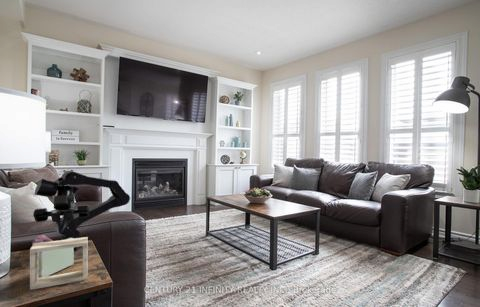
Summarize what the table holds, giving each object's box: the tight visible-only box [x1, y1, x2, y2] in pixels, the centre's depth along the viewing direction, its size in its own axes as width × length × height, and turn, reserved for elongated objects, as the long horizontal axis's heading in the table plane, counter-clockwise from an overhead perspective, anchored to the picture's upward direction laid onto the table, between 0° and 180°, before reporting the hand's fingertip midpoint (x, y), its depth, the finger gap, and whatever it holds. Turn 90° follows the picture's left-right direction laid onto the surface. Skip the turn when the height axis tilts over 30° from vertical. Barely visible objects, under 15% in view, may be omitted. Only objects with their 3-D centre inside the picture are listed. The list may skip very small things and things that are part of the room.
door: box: [38, 238, 75, 278], centre depth 97 cm, size 3×12×10 cm, turn 162°
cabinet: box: [29, 236, 89, 291], centre depth 91 cm, size 6×16×13 cm, turn 117°
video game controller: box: [31, 234, 54, 246], centre depth 118 cm, size 10×5×7 cm, turn 21°
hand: (60, 231), depth 105 cm, fingers closed
